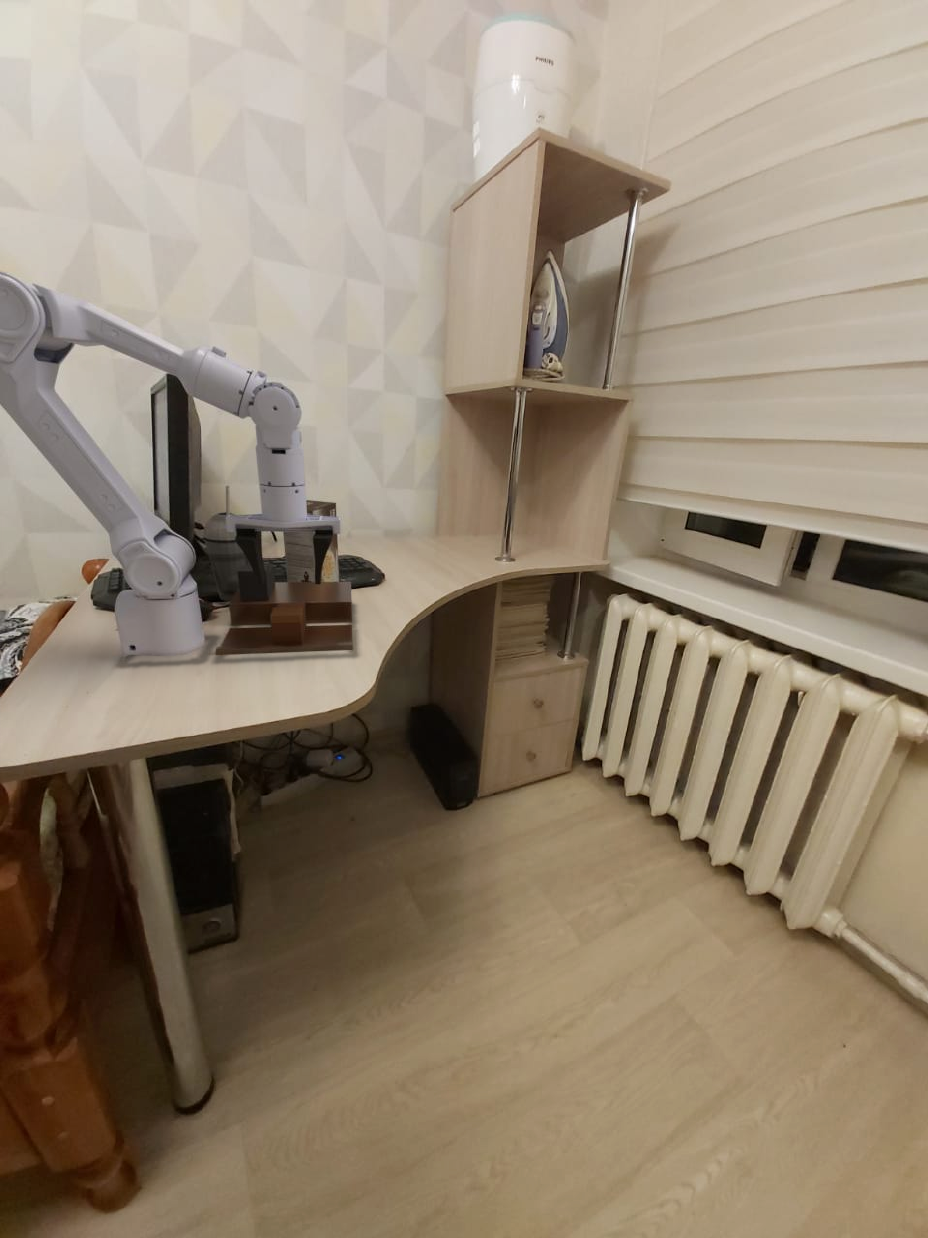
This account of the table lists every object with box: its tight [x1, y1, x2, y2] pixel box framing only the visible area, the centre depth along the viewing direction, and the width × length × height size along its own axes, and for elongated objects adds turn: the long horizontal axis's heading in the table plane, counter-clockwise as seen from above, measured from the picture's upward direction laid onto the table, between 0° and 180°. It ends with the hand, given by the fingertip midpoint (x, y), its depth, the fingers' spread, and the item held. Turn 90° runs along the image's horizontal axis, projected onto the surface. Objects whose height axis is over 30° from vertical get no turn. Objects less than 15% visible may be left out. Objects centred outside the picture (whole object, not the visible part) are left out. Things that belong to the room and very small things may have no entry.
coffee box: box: [282, 499, 340, 582], centre depth 93 cm, size 9×6×16 cm
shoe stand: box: [215, 581, 354, 656], centre depth 77 cm, size 18×20×4 cm
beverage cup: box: [202, 485, 250, 602], centre depth 84 cm, size 7×7×20 cm
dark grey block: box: [237, 563, 276, 601], centre depth 79 cm, size 8×4×5 cm, turn 13°
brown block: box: [270, 603, 307, 645], centre depth 73 cm, size 8×4×5 cm, turn 13°
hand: (290, 582), depth 70 cm, fingers open, 7 cm apart
